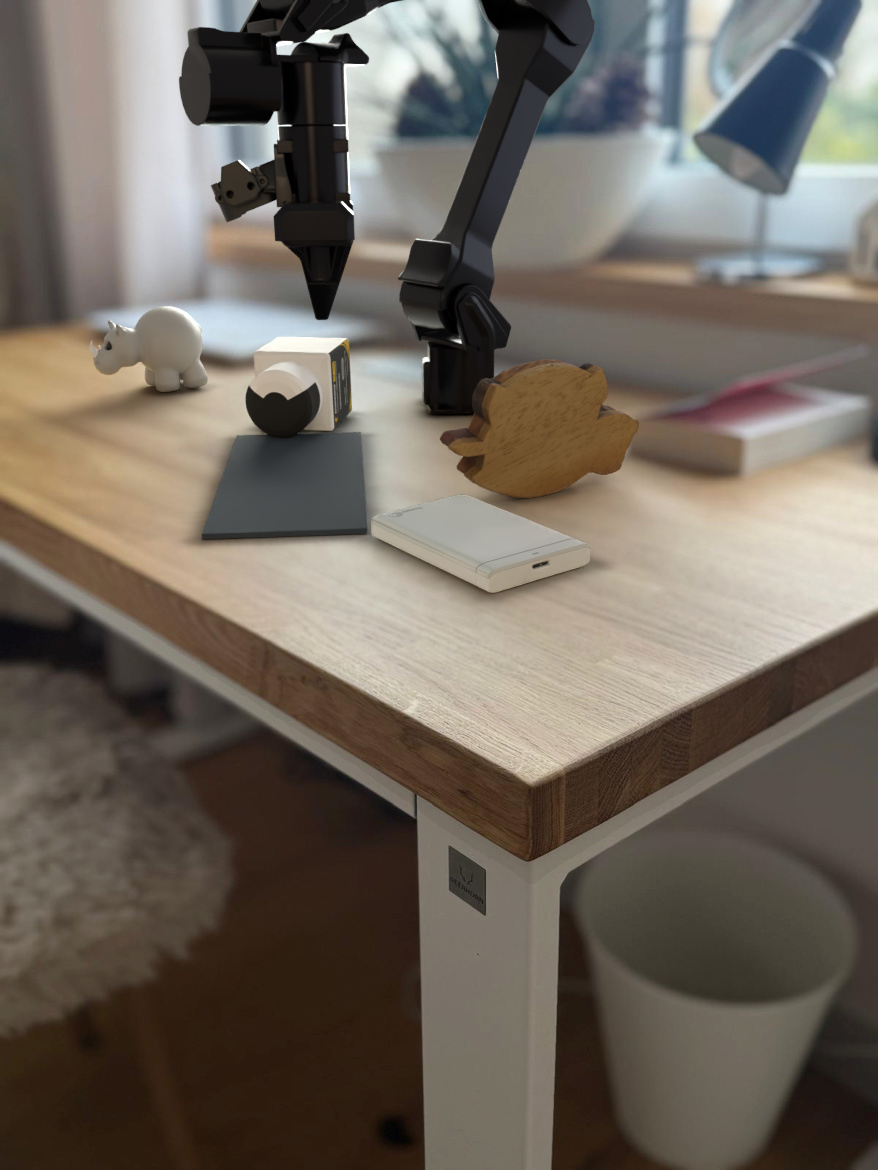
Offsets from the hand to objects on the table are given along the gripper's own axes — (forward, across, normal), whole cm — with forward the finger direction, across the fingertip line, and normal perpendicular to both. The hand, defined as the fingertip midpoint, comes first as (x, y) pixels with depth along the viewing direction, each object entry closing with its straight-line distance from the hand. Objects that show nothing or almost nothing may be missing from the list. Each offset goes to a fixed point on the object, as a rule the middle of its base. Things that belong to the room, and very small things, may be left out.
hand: (321, 319), depth 95 cm
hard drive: (+10, +32, +10) cm, 35 cm away
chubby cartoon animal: (+10, -20, -19) cm, 29 cm away
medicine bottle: (+6, -8, -1) cm, 10 cm away
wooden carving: (+10, +20, +16) cm, 28 cm away
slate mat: (+10, +15, -2) cm, 18 cm away
